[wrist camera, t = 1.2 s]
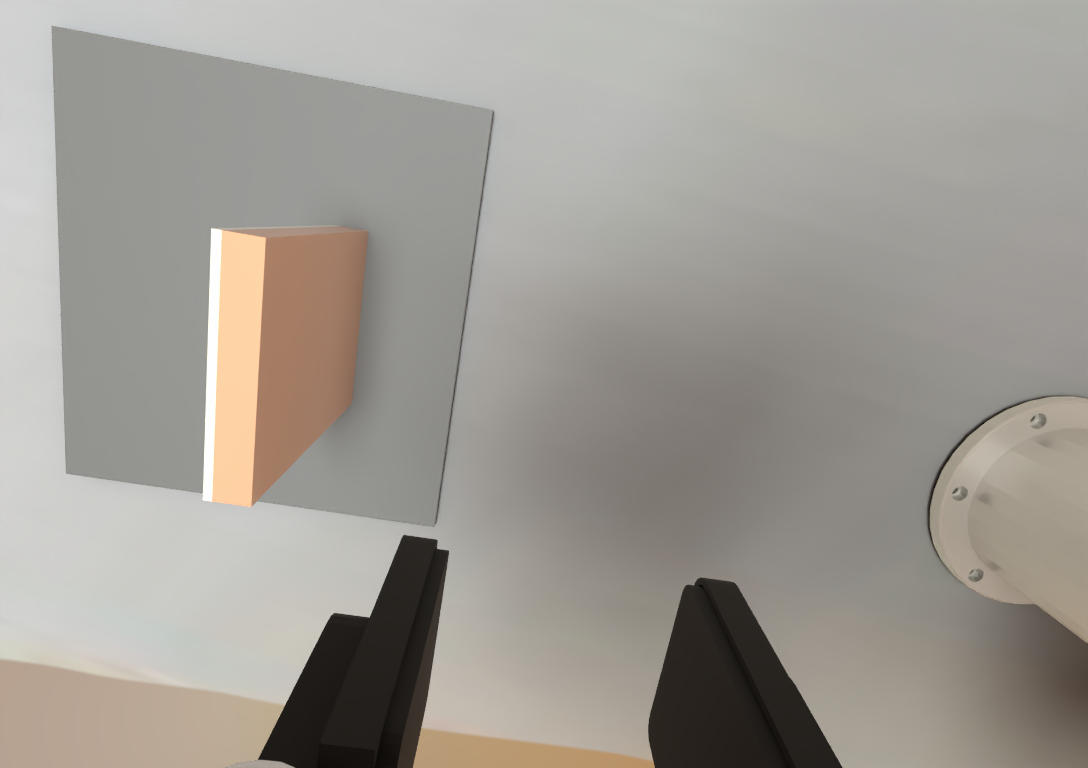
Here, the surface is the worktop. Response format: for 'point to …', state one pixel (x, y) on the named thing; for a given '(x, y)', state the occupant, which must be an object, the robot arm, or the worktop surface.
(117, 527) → the worktop surface
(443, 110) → the slate mat
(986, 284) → the worktop surface
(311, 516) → the worktop surface
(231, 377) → the tile
